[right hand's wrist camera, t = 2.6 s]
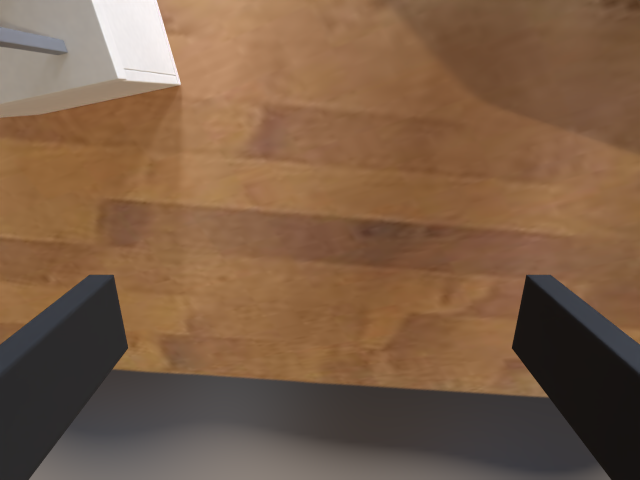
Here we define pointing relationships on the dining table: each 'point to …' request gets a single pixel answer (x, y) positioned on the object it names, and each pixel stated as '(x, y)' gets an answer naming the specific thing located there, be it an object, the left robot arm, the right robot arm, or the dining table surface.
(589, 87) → the dining table surface
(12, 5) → the cabinet door with handle
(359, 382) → the dining table surface
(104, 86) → the chest
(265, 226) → the dining table surface
